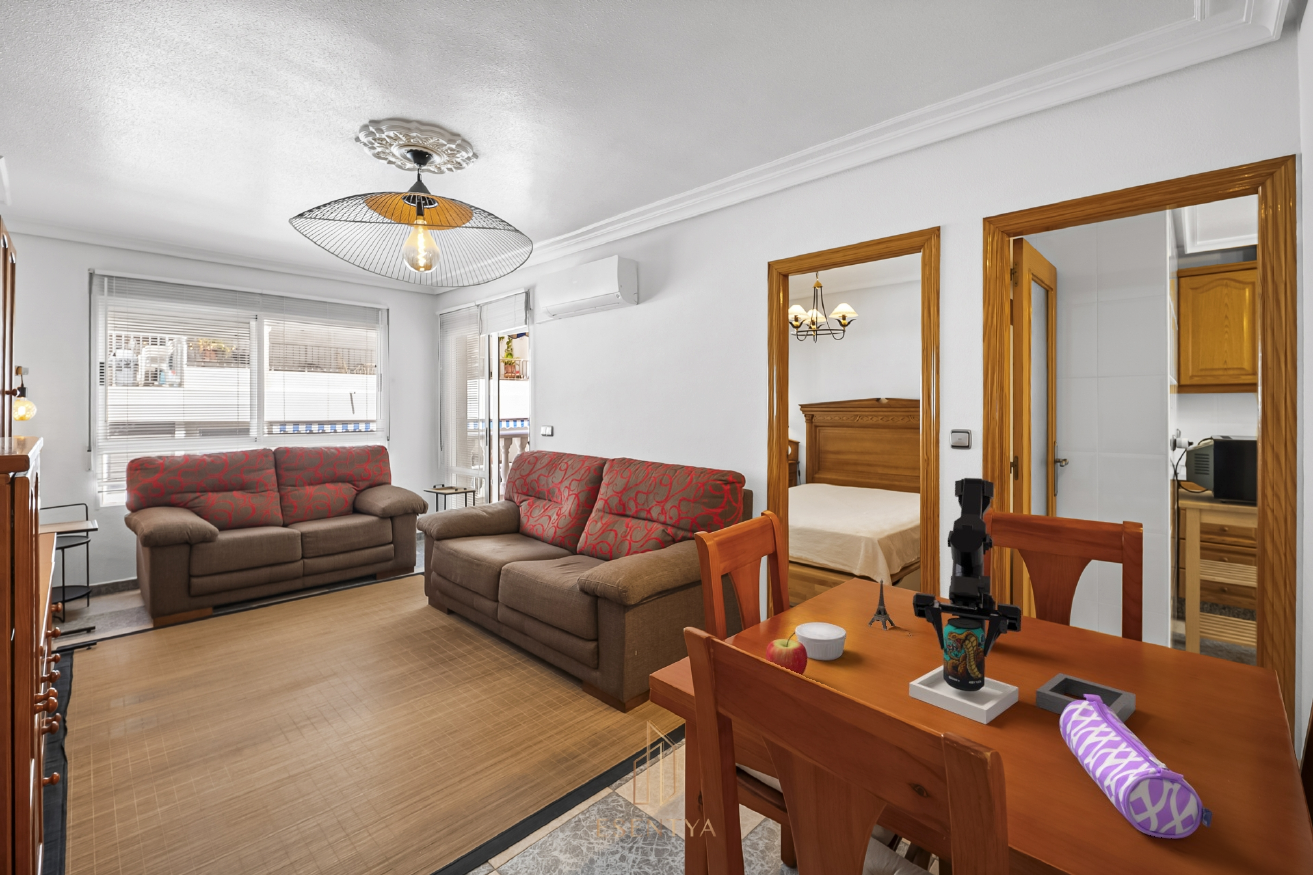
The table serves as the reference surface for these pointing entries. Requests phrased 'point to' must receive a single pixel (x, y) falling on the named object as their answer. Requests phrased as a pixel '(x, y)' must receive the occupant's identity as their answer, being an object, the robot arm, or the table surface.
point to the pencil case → (1131, 772)
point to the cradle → (964, 696)
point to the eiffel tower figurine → (882, 611)
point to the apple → (788, 654)
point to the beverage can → (964, 654)
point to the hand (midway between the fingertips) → (963, 652)
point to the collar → (1060, 684)
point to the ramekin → (821, 640)
